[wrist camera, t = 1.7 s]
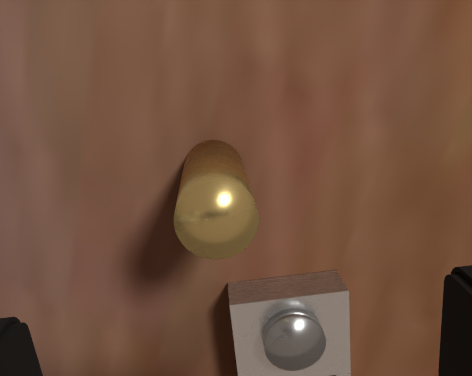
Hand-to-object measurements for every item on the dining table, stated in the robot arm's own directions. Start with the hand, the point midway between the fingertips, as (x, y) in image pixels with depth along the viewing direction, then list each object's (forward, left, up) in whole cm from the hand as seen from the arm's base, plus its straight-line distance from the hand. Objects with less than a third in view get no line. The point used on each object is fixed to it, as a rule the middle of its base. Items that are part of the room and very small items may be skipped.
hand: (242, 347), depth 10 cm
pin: (0, 0, -16) cm, 16 cm away
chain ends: (-10, -13, -16) cm, 23 cm away
